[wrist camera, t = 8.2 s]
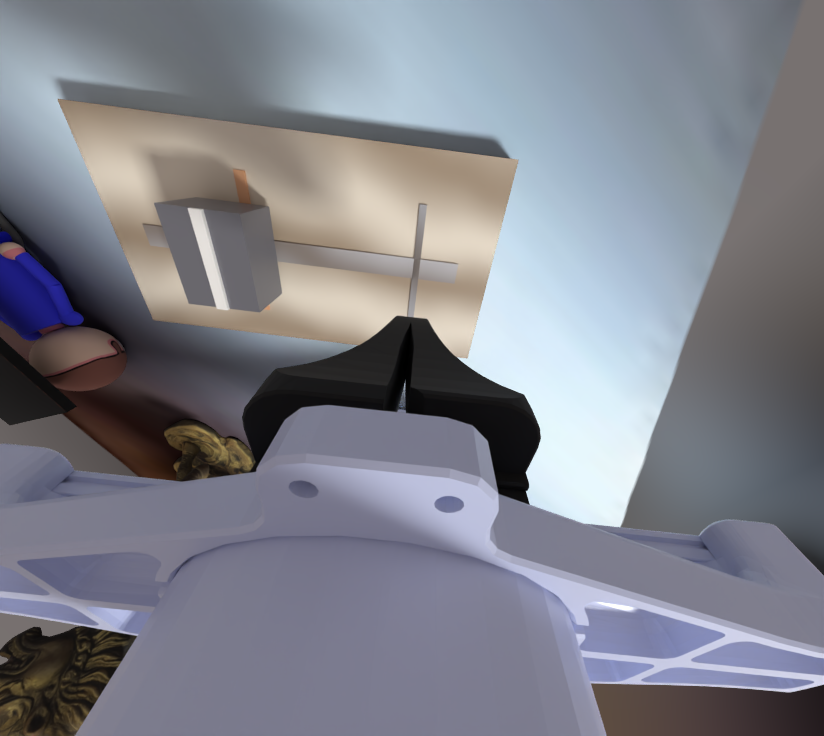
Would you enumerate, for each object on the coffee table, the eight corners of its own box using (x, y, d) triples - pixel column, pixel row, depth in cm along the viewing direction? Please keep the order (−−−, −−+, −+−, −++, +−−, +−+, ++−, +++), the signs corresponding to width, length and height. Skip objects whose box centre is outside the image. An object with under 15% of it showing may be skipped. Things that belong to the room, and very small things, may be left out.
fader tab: (282, 293, 19) (258, 314, 16) (220, 285, 19) (186, 305, 16) (269, 206, 16) (237, 214, 14) (196, 197, 16) (150, 203, 13)
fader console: (465, 347, 23) (467, 359, 22) (168, 311, 22) (152, 320, 21) (511, 160, 16) (519, 159, 15) (86, 104, 16) (55, 98, 14)
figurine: (233, 405, 28) (-59, 760, 11) (348, 534, 41) (291, 787, 24) (135, 431, 31) (-213, 742, 14) (271, 544, 44) (173, 775, 27)
